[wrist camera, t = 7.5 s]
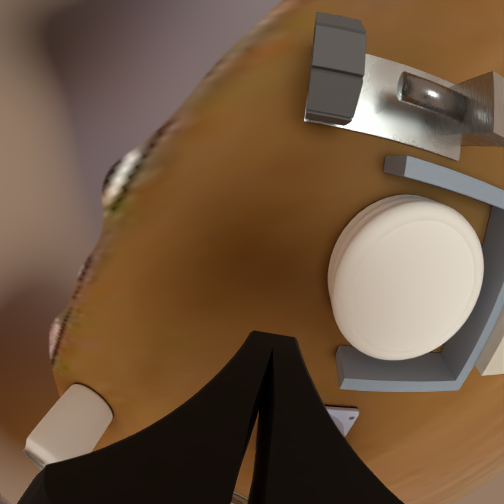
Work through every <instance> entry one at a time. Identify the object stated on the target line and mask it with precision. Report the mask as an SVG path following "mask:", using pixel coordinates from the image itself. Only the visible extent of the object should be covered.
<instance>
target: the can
mask: <svg viewBox="0 0 504 504" xmlns="http://www.w3.org/2000/svg"><path fill="white" fill-rule="evenodd" d="M112 418H113V415H112V410H111V408H110V406H109V405H108V404H107V402H106V401H105V400H104V399H103V398H102V397H101V396H100V395H99V394H98V393H96V392H95V391H94V390H92V389H91V388H89V387H87V386H85V385H82V384H73V385H72V386H70V388H69V389H68V390H67V391H66V392H65V393H64V394H63V395H62V397H61V398H60V399H59V400H58V401H57V402H56V404H55V405H54V406H53V407H52V408H51V409H50V411H49V412H48V413H47V414H46V416H45V417H44V418H43V419H42V420H41V422H40V423H39V424H38V425H37V426H36V428H35V429H34V430H33V431H32V433H31V434H30V435H29V436H28V438H27V441H26V447H25V449H23V452H24V453H25V454H26V456H27V457H28V458H29V459H30V460H31V461H32V462H33V463H34V464H36V465H37V466H38V467H39V468H40V469H41V470H43V469H44V467H45V466H46V465H47V464H51V463H55V462H59V461H63V460H67V459H70V458H74V457H77V456H81V455H84V454H88V453H91V452H92V450H93V449H94V447H95V445H96V444H97V442H98V441H99V439H100V438H101V436H102V435H103V433H104V432H105V430H106V428H107V427H108V425H109V424H110V422H111V420H112Z"/></svg>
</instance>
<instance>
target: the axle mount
mask: <svg viewBox="0 0 504 504" xmlns="http://www.w3.org/2000/svg"><path fill="white" fill-rule="evenodd" d="M312 47H313V45H312ZM311 56H312V55H311ZM310 66H311V65H310ZM309 75H310V74H309ZM308 84H309V83H308ZM307 93H308V92H307ZM306 102H307V101H306ZM305 112H306V109H305ZM304 122H309V123H315V124H321V125H326V126H332V127H337V128H342V129H347V130H351V131H356V132H360V133H365V134H369V135H373V136H377V137H381V138H385V139H389V140H392V141H396V142H400V143H403V144H406V145H410V146H413V147H416V148H420V149H423V150H426V151H429V152H432V153H435V154H438V155H441V156H444V157H447V158H449V159H452V160H455V161H459V156H460V147H461V146H495V147H504V77H502V76H501V75H499V74H497V73H496V72H494V71H491V72H488V73H486V74H483V75H480V76H477V77H474V78H472V79H469V80H466V81H464V82H461V83H459V84H456V85H455V84H452V83H450V82H448V81H445V80H443V79H441V78H438V77H436V76H433V75H431V74H428V73H426V72H423V71H420V70H417V69H415V68H412V67H409V66H406V65H403V64H400V63H397V62H393V61H390V60H387V59H383V58H380V57H376V56H372V55H369V54H366V58H365V74H364V76H363V85H362V89H361V93H360V97H359V100H358V104H357V108H356V111H355V115H354V118H353V119H352V122H350V123H349V124H347V125H346V126H342V125H337V124H332V123H327V122H321V121H316V120H310V119H305V117H304Z"/></svg>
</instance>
